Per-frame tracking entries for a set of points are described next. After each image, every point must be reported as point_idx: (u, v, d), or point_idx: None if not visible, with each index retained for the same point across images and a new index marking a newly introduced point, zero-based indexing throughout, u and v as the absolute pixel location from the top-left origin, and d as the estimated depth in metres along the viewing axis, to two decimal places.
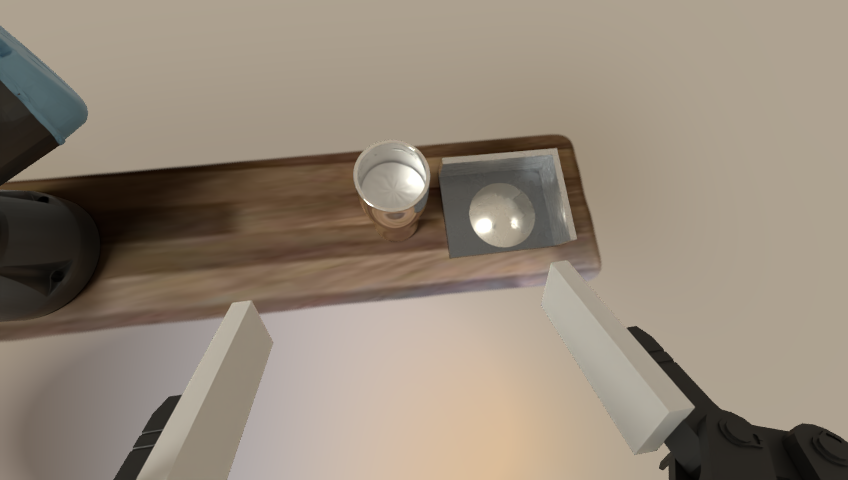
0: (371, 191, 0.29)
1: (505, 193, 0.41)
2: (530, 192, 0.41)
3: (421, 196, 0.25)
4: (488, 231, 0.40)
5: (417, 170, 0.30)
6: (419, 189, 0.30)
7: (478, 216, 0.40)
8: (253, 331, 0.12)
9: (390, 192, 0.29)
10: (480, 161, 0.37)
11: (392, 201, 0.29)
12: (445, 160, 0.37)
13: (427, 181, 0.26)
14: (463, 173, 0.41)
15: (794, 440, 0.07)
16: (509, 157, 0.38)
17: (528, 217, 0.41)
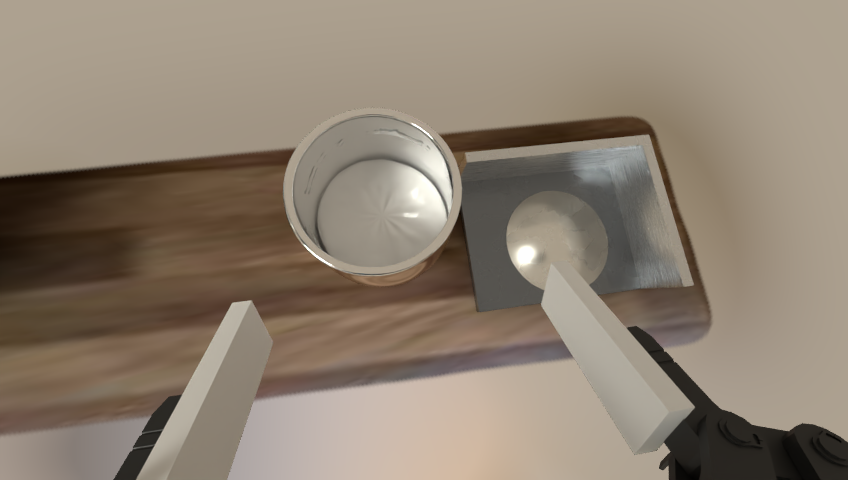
0: (338, 217, 0.15)
1: (561, 206, 0.27)
2: (598, 204, 0.27)
3: (443, 237, 0.11)
4: (536, 267, 0.25)
5: (428, 174, 0.16)
6: (433, 211, 0.15)
7: (520, 244, 0.26)
8: (253, 331, 0.12)
9: (376, 220, 0.15)
10: (527, 156, 0.23)
11: (380, 237, 0.15)
12: (470, 156, 0.23)
13: (456, 201, 0.11)
14: (495, 176, 0.26)
15: (794, 440, 0.07)
16: (574, 150, 0.23)
17: (598, 244, 0.26)
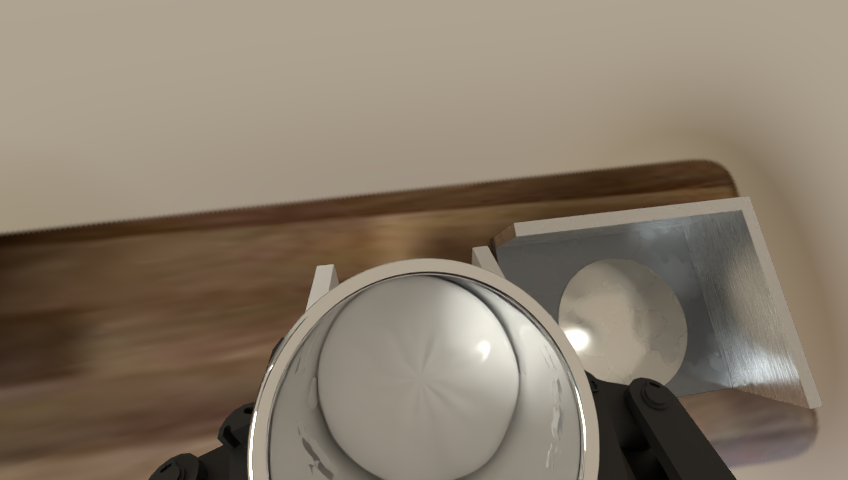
0: (350, 382, 0.09)
1: (625, 278, 0.21)
2: (672, 276, 0.21)
3: None
4: (597, 360, 0.20)
5: (488, 301, 0.10)
6: (498, 367, 0.10)
7: (577, 330, 0.20)
8: None
9: (410, 387, 0.09)
10: (595, 227, 0.17)
11: (417, 417, 0.09)
12: (521, 228, 0.17)
13: (592, 461, 0.06)
14: (543, 241, 0.21)
15: (630, 397, 0.09)
16: (654, 218, 0.18)
17: (674, 329, 0.20)
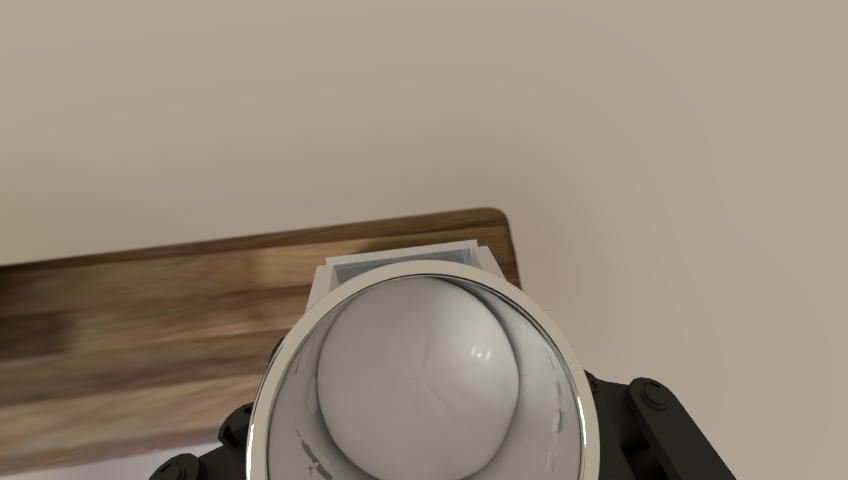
0: (350, 384, 0.09)
1: None
2: None
3: None
4: None
5: (488, 302, 0.10)
6: (498, 368, 0.10)
7: None
8: None
9: (410, 388, 0.09)
10: (376, 259, 0.29)
11: (417, 418, 0.09)
12: (330, 261, 0.29)
13: (593, 464, 0.06)
14: (365, 265, 0.33)
15: (630, 397, 0.09)
16: (414, 253, 0.30)
17: None
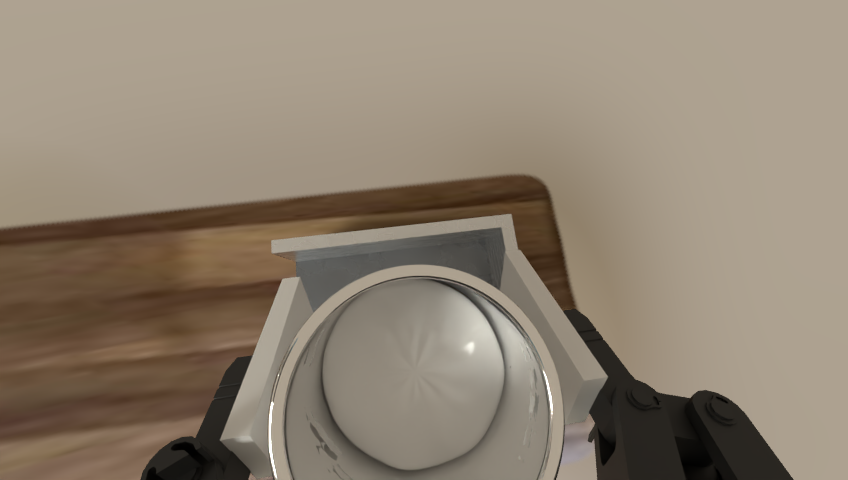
0: (352, 375, 0.10)
1: None
2: None
3: None
4: None
5: (476, 301, 0.11)
6: (486, 360, 0.11)
7: None
8: (302, 305, 0.13)
9: (406, 378, 0.10)
10: (352, 244, 0.18)
11: (412, 405, 0.10)
12: (278, 245, 0.18)
13: (558, 435, 0.07)
14: (340, 255, 0.22)
15: (693, 409, 0.08)
16: (413, 235, 0.19)
17: None
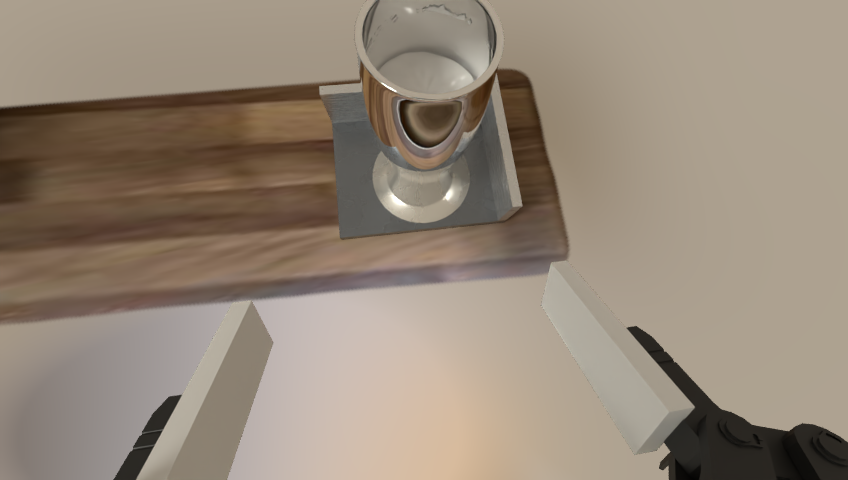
0: None
1: None
2: None
3: (489, 72, 0.13)
4: None
5: (465, 64, 0.18)
6: None
7: (385, 178, 0.27)
8: (253, 331, 0.12)
9: None
10: None
11: None
12: (324, 89, 0.25)
13: (500, 46, 0.13)
14: (366, 117, 0.28)
15: (794, 440, 0.07)
16: None
17: (460, 180, 0.28)
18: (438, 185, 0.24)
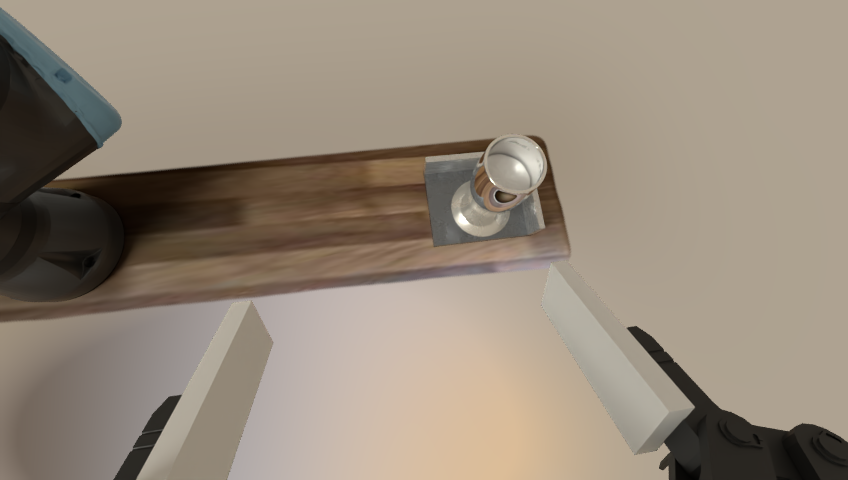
0: None
1: None
2: None
3: (541, 180, 0.30)
4: None
5: (521, 161, 0.35)
6: (524, 177, 0.35)
7: (459, 209, 0.45)
8: (253, 331, 0.12)
9: (501, 180, 0.34)
10: (459, 159, 0.42)
11: (503, 187, 0.34)
12: (428, 159, 0.42)
13: (545, 168, 0.30)
14: (446, 170, 0.46)
15: (794, 440, 0.07)
16: None
17: None
18: (496, 215, 0.41)
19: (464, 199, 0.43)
